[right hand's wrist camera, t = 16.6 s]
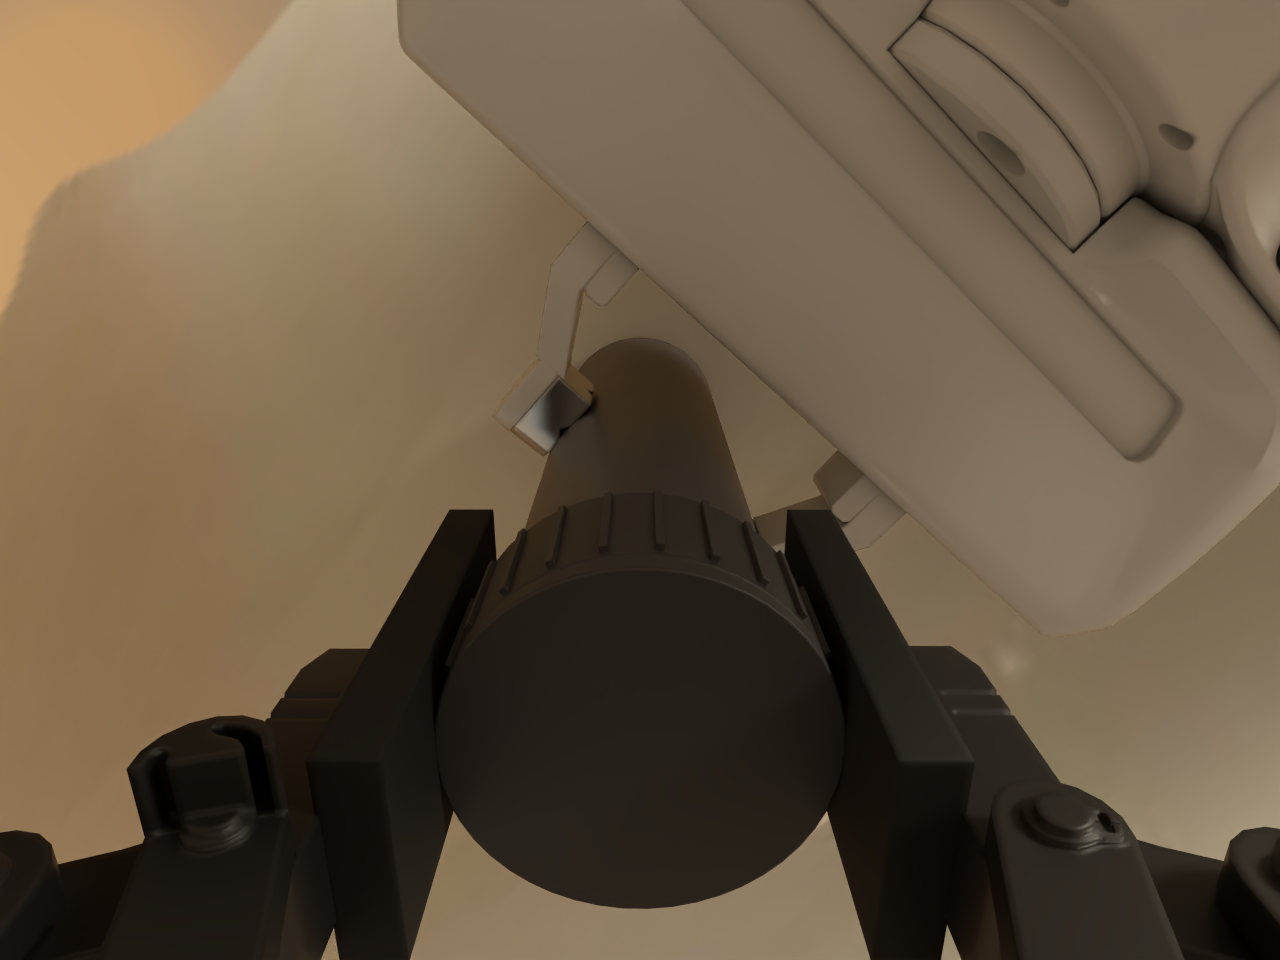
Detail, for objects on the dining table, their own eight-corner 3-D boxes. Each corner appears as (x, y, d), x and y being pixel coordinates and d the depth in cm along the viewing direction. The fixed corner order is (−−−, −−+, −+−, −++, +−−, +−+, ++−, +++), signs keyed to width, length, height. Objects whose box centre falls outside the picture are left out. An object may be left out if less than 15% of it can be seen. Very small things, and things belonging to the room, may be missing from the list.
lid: (648, 840, 14) (650, 972, 11) (395, 656, 13) (342, 763, 10) (885, 640, 12) (940, 744, 10) (629, 412, 11) (627, 472, 9)
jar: (580, 484, 26) (505, 872, 12) (557, 347, 25) (436, 596, 10) (718, 466, 26) (820, 838, 11) (703, 327, 25) (798, 551, 10)
